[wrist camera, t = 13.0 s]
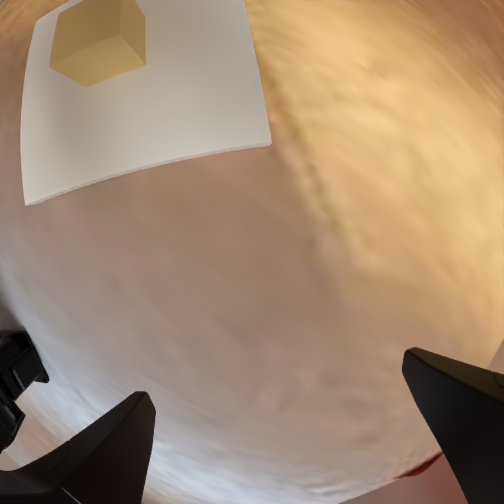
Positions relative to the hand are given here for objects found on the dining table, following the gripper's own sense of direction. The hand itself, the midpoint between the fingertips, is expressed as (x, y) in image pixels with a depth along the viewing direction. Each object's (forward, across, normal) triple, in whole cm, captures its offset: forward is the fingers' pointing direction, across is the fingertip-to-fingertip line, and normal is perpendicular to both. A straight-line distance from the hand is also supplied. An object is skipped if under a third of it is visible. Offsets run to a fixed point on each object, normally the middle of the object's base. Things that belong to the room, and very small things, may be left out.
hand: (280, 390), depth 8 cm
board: (+12, +8, -19) cm, 24 cm away
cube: (+10, +8, -19) cm, 23 cm away
